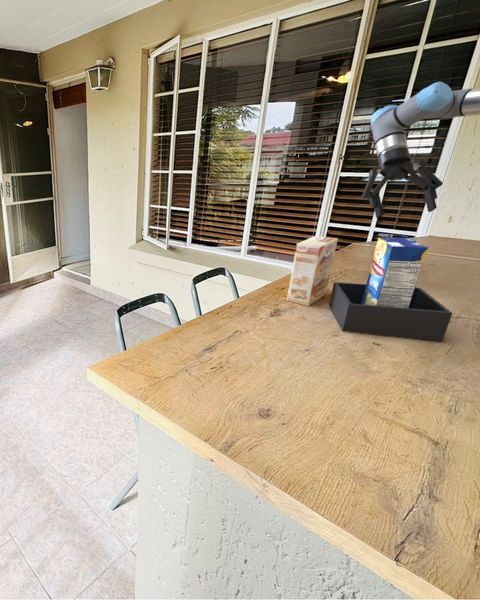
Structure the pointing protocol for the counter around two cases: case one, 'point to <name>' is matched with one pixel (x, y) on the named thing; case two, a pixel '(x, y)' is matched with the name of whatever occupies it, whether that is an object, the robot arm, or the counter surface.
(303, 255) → the coffeecake box
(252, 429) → the counter surface
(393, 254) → the beverage box
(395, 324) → the bin
